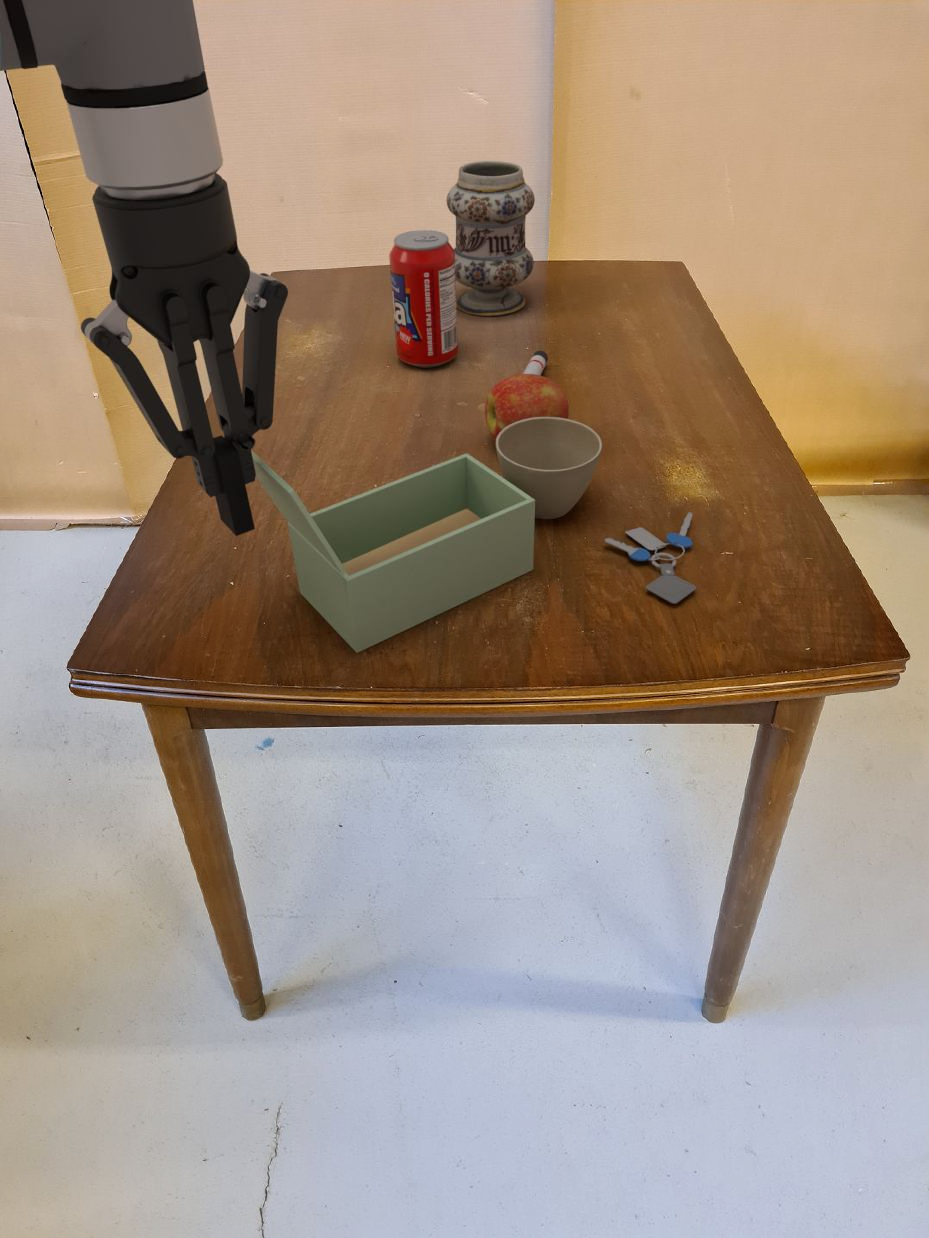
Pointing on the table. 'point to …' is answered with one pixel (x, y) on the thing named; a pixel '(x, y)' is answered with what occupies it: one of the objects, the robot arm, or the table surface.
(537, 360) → the marker
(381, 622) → the carton
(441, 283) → the soda can
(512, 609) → the table surface
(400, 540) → the birch block
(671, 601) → the key chain
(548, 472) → the flower pot
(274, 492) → the flap
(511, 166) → the apothecary jar
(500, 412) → the apple
